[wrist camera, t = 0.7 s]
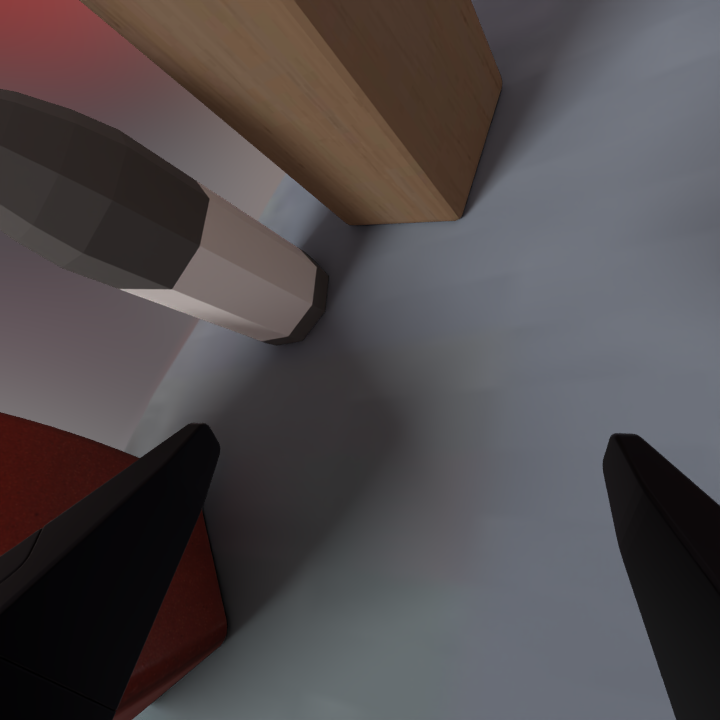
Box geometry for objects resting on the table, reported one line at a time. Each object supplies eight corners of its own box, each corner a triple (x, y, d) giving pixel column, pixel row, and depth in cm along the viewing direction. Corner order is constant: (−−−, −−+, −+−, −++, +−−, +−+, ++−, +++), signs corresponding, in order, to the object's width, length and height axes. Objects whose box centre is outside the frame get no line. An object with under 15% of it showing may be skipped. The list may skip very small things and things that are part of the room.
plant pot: (108, 541, 41) (-143, 565, 28) (208, 426, 36) (-49, 392, 23) (128, 775, 30) (-268, 987, 17) (276, 663, 25) (-147, 854, 12)
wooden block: (385, 114, 32) (128, -232, 16) (506, 81, 25) (268, -538, 10) (348, 228, 31) (41, -25, 16) (462, 223, 25) (133, -212, 9)
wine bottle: (345, 263, 30) (-670, -455, 7) (306, 360, 30) (-850, -54, 7) (284, 252, 35) (-416, -184, 12) (250, 334, 35) (-517, 49, 12)
